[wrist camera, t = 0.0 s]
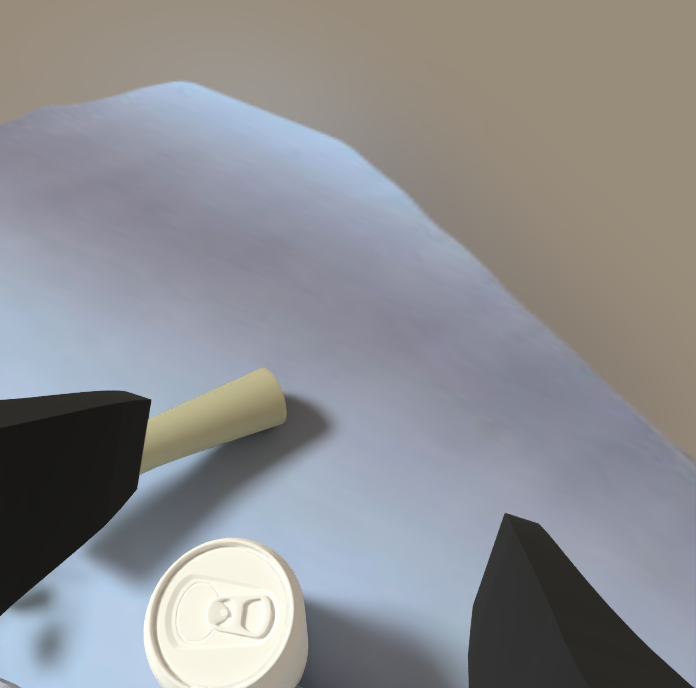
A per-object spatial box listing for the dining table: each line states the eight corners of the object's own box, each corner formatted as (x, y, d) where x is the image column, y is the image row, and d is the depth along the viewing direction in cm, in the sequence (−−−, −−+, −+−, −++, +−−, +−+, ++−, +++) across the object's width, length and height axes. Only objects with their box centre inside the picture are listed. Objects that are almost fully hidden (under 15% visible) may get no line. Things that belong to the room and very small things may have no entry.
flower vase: (274, 488, 53) (-240, 743, 34) (217, 371, 55) (-287, 549, 37) (319, 453, 43) (-365, 782, 25) (247, 313, 46) (-415, 514, 27)
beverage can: (198, 580, 41) (159, 524, 31) (313, 589, 41) (311, 534, 31) (171, 718, 36) (115, 702, 26) (301, 727, 36) (294, 715, 26)
